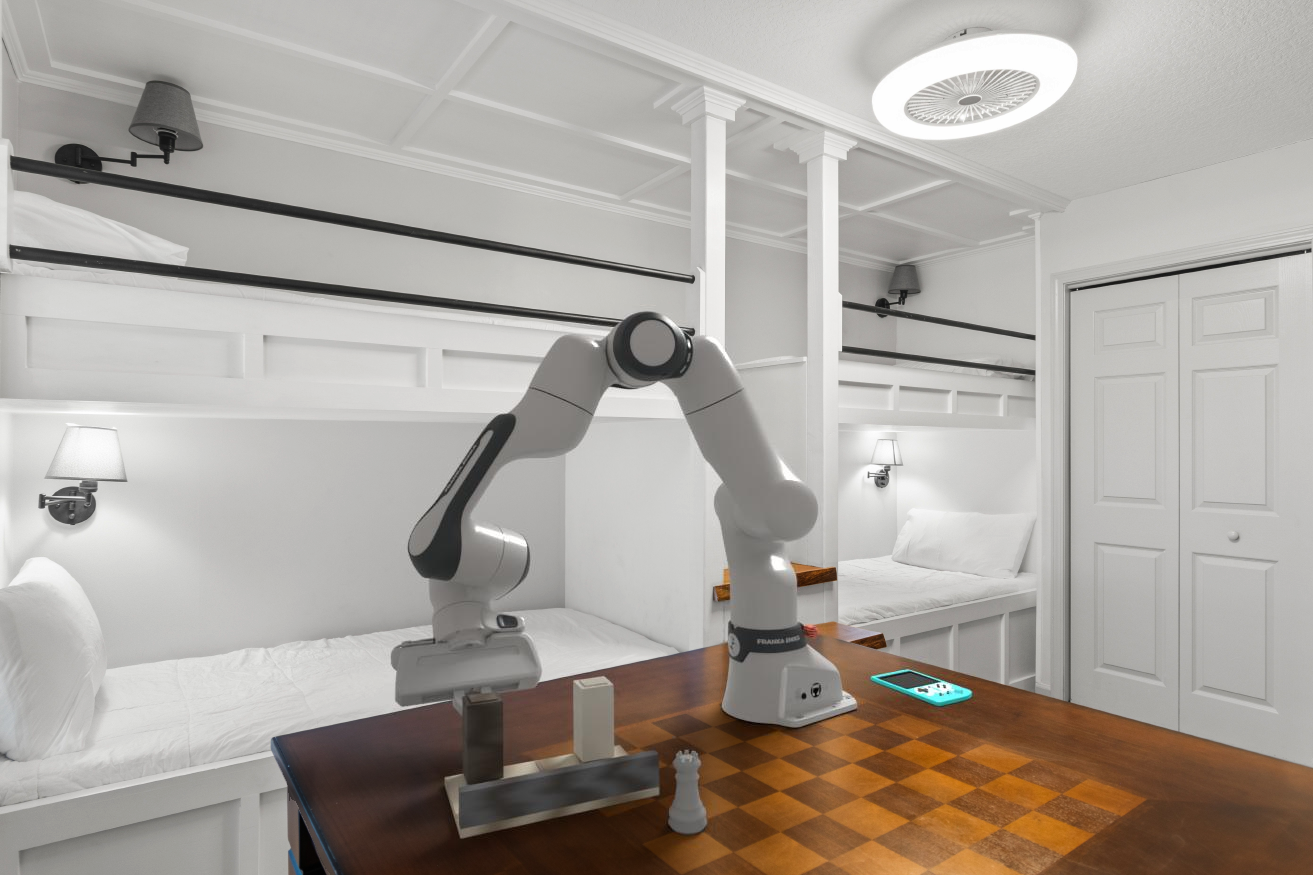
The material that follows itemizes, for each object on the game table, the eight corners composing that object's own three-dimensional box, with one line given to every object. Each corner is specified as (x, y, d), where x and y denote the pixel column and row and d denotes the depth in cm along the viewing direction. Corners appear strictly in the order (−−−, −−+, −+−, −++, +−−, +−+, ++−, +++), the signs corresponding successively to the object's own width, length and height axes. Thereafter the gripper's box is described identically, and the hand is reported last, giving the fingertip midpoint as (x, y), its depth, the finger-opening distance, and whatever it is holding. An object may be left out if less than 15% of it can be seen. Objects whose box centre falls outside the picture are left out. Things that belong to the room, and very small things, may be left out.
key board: (619, 751, 101) (619, 716, 101) (659, 794, 88) (658, 753, 88) (444, 784, 91) (444, 745, 91) (460, 838, 78) (460, 792, 78)
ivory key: (604, 745, 100) (603, 674, 100) (614, 756, 96) (613, 682, 96) (573, 751, 98) (573, 678, 98) (582, 762, 94) (581, 687, 94)
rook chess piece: (704, 837, 78) (703, 764, 78) (664, 833, 79) (663, 761, 79) (709, 817, 82) (708, 747, 82) (671, 813, 83) (671, 745, 83)
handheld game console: (938, 709, 117) (937, 701, 117) (868, 682, 132) (868, 675, 132) (979, 699, 122) (979, 691, 122) (907, 674, 136) (907, 667, 136)
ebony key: (497, 765, 94) (497, 689, 94) (503, 777, 90) (503, 699, 90) (462, 771, 92) (462, 694, 92) (467, 784, 88) (467, 704, 88)
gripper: (391, 630, 99) (395, 724, 90) (534, 616, 108) (551, 701, 98) (389, 654, 103) (393, 747, 94) (527, 638, 112) (543, 722, 102)
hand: (475, 723), depth 96 cm, fingers closed
